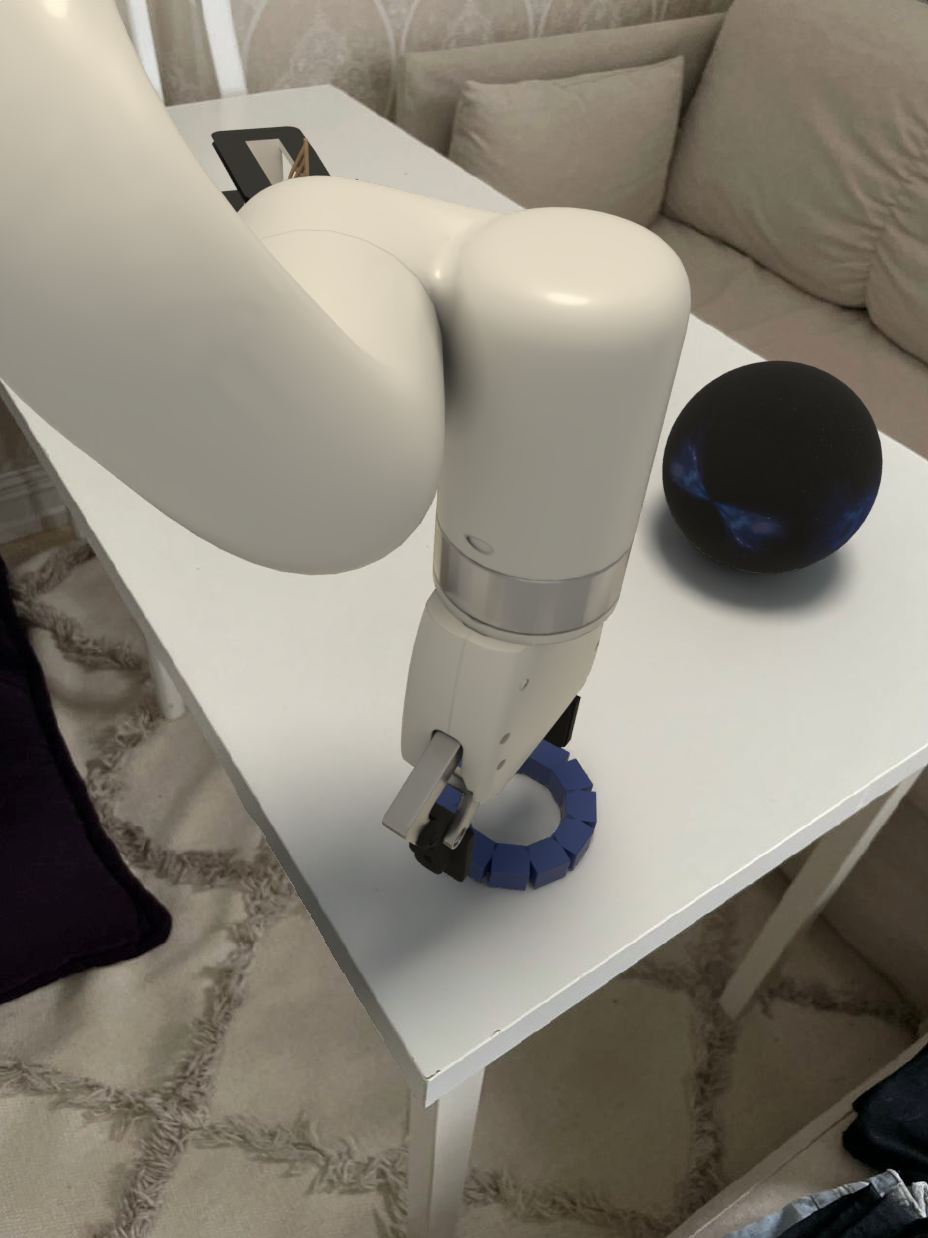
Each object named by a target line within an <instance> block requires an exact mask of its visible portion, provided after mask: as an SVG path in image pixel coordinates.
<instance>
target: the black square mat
mask: <svg viewBox="0 0 928 1238" xmlns="http://www.w3.org/2000/svg"><path fill="white" fill-rule="evenodd" d="M210 137H211V138H212V140H213V141H212V142H211V146H212V148H213V149H214V151H215V153H216V155H217V157H218V158H219V160H220V161H221V163H222V165H223V167H224V169H225V170H226V172H227V174H228V176H229V178H230V180H231V181H232V183H233V185H234V187H235V188H236V189H232V190H231V189H230V190H220V191H221V192H222V193H223V195H224V196H225V197H226V199H227V200H228V201H229V203H230V204H231V205H232V207H233V208H234V209H235V211H236V212H237V213H238V211H239V210H240V209H241V208H242V207H243V206H244V205H245V204H246V203H247V202H248V201H249V200H250V199H251V198H252V197H253V196H255V195H256V194H257V193H259V192H260V191H262V190H264V189H265V188H267V187H269V186H272V185H274V184H277V183H279V182H282V181H285V179H284V178H285V177H284V160H283V156H284V157H285V159H286V160H287V162H288V163H289V165H290V166H291V169H290V171H289V174H288V177H287V180H288V179H292V178H299V177H308V176H331V174H330V172H329V171H328V169H327V167H326V166H325V164H324V163H323V161H322V159H321V158H320V157H319V155H318V153H317V152H316V150H315V148H314V147H313V145H312V144H311V143H310V141H309V139H308V138H307V137H306V136H305V134H304V133H303V132H302V130H301V129H300V128H298V127H296V126H290V125H283V126H270V127H257V128H241V129H240V128H239V129H228V130H217V131H213V132H212V133H211V134H210ZM355 179H356V180H359V178H355Z"/></svg>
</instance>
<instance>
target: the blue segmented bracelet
mask: <svg viewBox="0 0 928 1238" xmlns="http://www.w3.org/2000/svg"><path fill="white" fill-rule="evenodd" d="M570 757H571V752H570V751H568V750H566V749H565V748H564V747H562V748H558V747H556V746H554V745H553V744H551V743H549V742H547V741H546V740H544V739H542V741H541V742H540V743H539V744H538V746H537V747H536V748H535V749H534V751H533V752H532V753H531V754H530V756H529V757H528V758H527V760H526V761H525V762H524V763H523V765H522V766H521V767H520V768H519V770H518V771H517V772H516V773H520V774H525V775H527V776H529V777H531V778H533V779H534V780H536V781H537V782H539V783H541V784H542V785H545V786H546V787H547V788H548V789H549V791H550V792H551V794H552V796H553V797H554V798H555V800H556V802H557V803H558V805H559V807H560V823H559V824H558V826H557V827H556V829H555V830H554V831H553V833H552V834H551V835H550V836H547V837H545V838H543V839H540V840H538V841H535V842H532V843H530V844H528V845H521V844H512V843H503V842H497V841H495V840H494V839H492V838H491V837H489V836H487V835H486V834H484V833H482V832H481V831H480V830H478V829H476V828H474V826H473V825H472V822H471V823H470V825H469V827H470V828H471V829H472V830H473V831H474V833H475V834H474V842H473V849H472V856H471V864H470V871H469V874H468V876H467V877H469V878H471V879H472V880H474V881H475V882H477V883H478V884H482V883H483V881H484V880H485V879H486V877H487V876H488V880H487V881H488V882H487V883H488V884H487V887H489V888H497V889H506V890H516V891H526V890H527V887H528V883H530V885H531V888H532V889H533V890H535V889H538V888H541V887H543V886H546V885H548V884H550V883H552V882H555V881H558V880H559V879H562V878H564V877H566V876H567V873H568V871H574V869H575V867H577V864H578V863H579V862H580V860H581V859H582V857H583V856H584V854H585V853H586V852H587V850H588V849H589V847H590V844H591V842H592V839H593V836H594V832H595V830H596V826H597V823H598V814H597V812H598V811H597V809H598V808H597V791H595V790H594V791H593V787H594V783H593V782H592V780H591V779H590V777H589V776H588V774H587V773H586V771H585V770H584V769H583V767H582V765H581V763H580V762H579V760H578V759H577V758H572V759H570ZM569 759H570V760H569ZM461 763H462V760H461V761H460V763H459V765H458V767H460V768H461ZM463 795H464V794H462V793H461V792H459V791H457V790H456V789H454V788H453V787H451V786H449V785H448V784H446V786H445V787H444V789H443V791H442V792H441V794H440V796H439V797H438V799H437V800H436V803H438V804H440V805H441V806H443V807H444V808H446V809H448V810H449V811H451V812H452V813H454V814H455V812H456V810H457V808H458V806H459V803H460V801H461V799H462V797H463Z"/></svg>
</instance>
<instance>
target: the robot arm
mask: <svg viewBox="0 0 928 1238" xmlns="http://www.w3.org/2000/svg"><path fill="white" fill-rule="evenodd" d="M120 13H121V12H120V9H119V8H118V5H117V2H116V0H0V379H1V381H3V383H5V384H6V386H7V387H8V388H9V389H10V390H11V391H12V392H13V393H14V394H15V395H16V396H17V398H19V399H20V400H21V401H22V402H23V403H24V404H26V405H27V407H29V408H30V409H31V410H32V411H33V412H34V413H35V414H36V415H37V416H39V417H40V418H41V419H42V420H43V421H44V422H45V423H46V424H47V425H49V427H51V428H52V429H53V430H55V431H56V432H57V433H58V434H60V436H62V437H63V438H65V439H66V440H67V441H68V442H70V444H72V445H73V446H75V447H76V448H77V449H79V450H80V451H82V452H83V453H84V454H86V455H87V456H88V457H90V458H91V460H93V461H95V462H96V463H97V464H98V465H100V466H101V467H102V468H104V469H105V470H106V471H107V472H109V473H110V474H111V475H113V477H115V478H116V479H118V480H119V481H120V482H121V483H123V484H124V485H125V486H126V487H128V488H129V489H130V490H132V491H133V492H134V493H136V494H137V495H138V496H139V497H141V498H142V499H143V500H144V501H145V502H148V504H150V505H151V506H153V507H154V508H155V509H156V510H158V511H159V512H161V513H162V514H163V515H165V516H166V517H167V518H169V519H170V520H172V522H174V523H177V524H178V525H179V526H181V527H183V528H184V529H186V530H187V531H189V532H190V533H192V534H193V535H195V536H196V537H198V538H200V539H202V540H204V541H205V542H208V543H209V544H211V545H213V546H214V547H216V548H218V549H219V550H221V551H223V552H225V553H228V554H230V555H233V556H234V557H237V558H239V559H241V560H243V561H246V562H248V563H251V564H254V565H255V566H256V565H257V566H260V567H264V568H267V569H270V570H274V571H277V572H281V573H288V574H297V575H304V576H305V575H306V576H328V575H329V576H330V575H338V574H342V573H346V572H347V573H348V572H352V571H356V570H359V569H362V568H365V567H367V566H369V565H371V564H374V563H376V562H378V561H380V560H382V559H384V558H386V557H387V556H389V555H390V554H392V553H393V552H394V551H395V550H397V549H398V548H399V547H401V546H402V545H403V544H404V543H405V542H406V541H407V540H408V539H409V537H411V535H412V534H413V533H414V532H415V531H416V529H418V528H419V526H420V525H421V524H422V523H423V521H424V519H425V517H426V516H427V513H428V512H429V510H430V508H431V507H432V505H433V502H434V500H435V498H436V504H435V505H436V506H435V519H434V534H433V535H434V536H433V554H432V555H433V557H432V581H433V585H434V590H433V591H431V592H432V593H431V594H430V596H429V597H428V598H427V600H426V602H425V605H424V608H423V612H422V614H421V617H420V620H419V624H418V628H417V630H416V631H417V632H416V635H415V639H414V642H413V645H412V650H411V655H410V656H411V657H410V661H409V664H408V672H407V680H406V686H405V692H404V701H403V709H402V718H401V728H400V729H401V730H400V753H401V757H402V760H404V761H405V762H406V763H408V764H409V765H410V766H412V767H413V768H412V770H411V771H410V773H409V775H408V776H407V778H406V780H405V782H403V785H401V788H400V789H399V791H398V793H397V794H396V795H395V797H394V799H393V800H392V802H391V804H390V805H389V807H388V808H387V810H386V812H385V813H384V815H383V818H382V821H381V824H382V826H383V827H385V828H386V829H388V830H390V831H391V832H393V833H394V834H396V835H397V836H399V837H400V838H401V839H403V840H405V841H406V842H408V848H409V849H410V851H411V852H412V853H413V856H414V858H415V860H416V861H417V863H419V864H420V865H421V866H422V867H423V868H424V869H426V870H428V871H430V872H431V873H432V874H434V875H441V874H443V873H444V874H445V875H447V876H449V877H450V878H451V879H453V880H455V881H456V882H458V883H463V882H464V881H466V878H467V877H469V876H468V874H469V871H470V864H471V856H472V849H473V842H474V834H475V833H474V831H473V830H472V829H471V828H470V827H469V825H470V823H471V824H472V821H473V819H474V817H475V814H476V812H477V810H478V809H479V806H480V804H481V803H485V802H489V801H492V800H493V799H494V798H495V797H497V795H498V794H500V792H502V790H503V789H504V788H505V787H506V786H507V784H509V782H510V781H511V779H512V778H513V777H514V776H515V775H516V773H518V772H517V771H518V770H519V768H520V767H521V766H522V765H523V763H524V762H525V761H526V760H527V758H528V757H529V756H530V754H531V753H532V752H533V751H534V749H535V748H536V747H537V746H538V744H539V743H540V742H541V741H542V739H544V740H546V741H547V742H549V743H551V744H553V745H554V746H556V747H558V748H566V747H567V745H568V744H569V743H570V742H571V740H572V737H573V732H574V728H575V724H576V721H577V720H576V719H577V715H578V711H579V707H580V703H581V700H582V699H581V698H582V696H580V695H578V694H579V692H580V691H582V689H583V687H584V685H586V682H587V680H588V677H589V676H590V673H591V670H592V667H593V665H594V663H595V659H596V656H597V652H598V650H599V645H600V641H601V637H602V632H603V628H604V624H605V622H606V621H607V620H608V619H609V617H610V616H611V615H612V614H613V613H614V612H615V609H616V607H617V605H618V603H619V600H620V597H621V592H622V588H623V583H624V580H625V576H626V572H627V568H628V563H629V560H630V557H631V552H632V548H633V544H634V541H635V540H634V539H635V536H636V534H637V530H638V525H639V522H640V517H641V514H642V510H643V506H644V502H645V499H646V494H647V489H648V487H649V482H650V479H651V474H652V470H653V467H654V462H655V460H656V456H657V450H658V447H659V442H660V439H661V435H662V432H663V427H664V423H665V420H666V419H665V418H666V415H667V412H668V407H669V403H670V399H671V396H672V393H673V392H672V390H673V388H674V383H675V379H676V376H677V373H678V367H679V364H680V359H681V357H682V356H681V355H682V353H683V348H684V343H685V340H686V337H687V331H688V326H689V321H690V316H691V310H692V293H691V292H692V290H691V283H690V279H689V276H688V273H687V271H686V267H685V266H684V263H683V262H682V260H681V258H680V257H679V255H678V253H676V251H675V250H674V249H673V248H672V247H671V246H670V245H669V244H668V243H667V242H666V241H665V240H663V239H662V238H661V237H660V236H659V235H658V234H656V233H655V232H653V231H651V230H650V229H648V228H647V227H645V226H644V225H641V224H638V223H636V222H635V221H632V220H630V219H627V218H624V217H620V216H619V215H615V214H610V213H607V212H604V211H599V210H593V209H589V208H588V209H587V208H581V207H567V206H546V207H545V206H544V207H532V208H527V209H521V210H516V211H512V212H500V211H495V210H489V209H484V208H479V207H473V206H470V205H465V204H460V203H456V202H452V201H447V200H443V199H439V198H435V197H430V196H426V195H422V194H418V193H415V192H411V191H406V190H403V189H399V188H397V187H396V188H395V187H391V186H389V185H384V184H379V183H375V182H371V181H367V180H360V179H358V180H356V179H357V178H351V177H350V178H349V177H343V176H332V175H330V176H308V177H298V178H294V177H292V179H288V178H287V179H284V181H282V182H279V183H277V184H274V185H272V186H269V187H267V188H265V189H264V190H262V191H260V192H259V193H257V194H256V195H255V196H253V197H252V198H251V199H250V200H249V201H248V202H247V203H246V204H245V205H244V206H243V207H242V208H241V209H240V210H239V211H238V213H237V212H236V211H235V209H234V208H233V207H232V205H231V204H230V203H229V201H228V200H227V199H226V197H225V196H224V195H223V193H222V192H221V191H222V190H221V189H220V188H219V187H218V186H217V184H216V182H215V181H214V180H213V178H212V177H211V176H210V175H209V173H208V172H207V170H206V169H205V168H204V166H203V165H202V163H201V162H200V160H199V158H198V157H197V155H196V153H195V152H194V151H193V149H192V148H191V146H190V145H189V143H188V141H187V140H186V139H185V137H184V136H183V134H182V133H181V131H180V129H179V128H178V126H177V125H176V124H175V121H174V120H173V118H172V116H171V113H169V110H168V109H167V107H166V105H165V103H164V102H163V100H162V99H161V96H160V94H159V93H158V91H157V90H156V88H155V86H154V84H153V83H152V81H151V79H150V78H149V75H148V74H147V71H146V68H145V67H144V65H143V62H142V60H141V58H140V56H139V54H138V52H137V50H136V48H135V45H134V43H133V41H132V40H131V37H130V36H129V35H130V34H129V33H128V30H127V28H126V26H125V22H124V20H123V18H122V15H121V14H120ZM461 760H462V763H461V768H460V767H458V765H459V763H460V761H461ZM446 784H448V785H449V786H451V787H453V788H454V789H456V790H457V791H459V792H461V793H462V794H463V795H462V796H461V801H460V803H459V806H458V808H457V810H456V812H455V814H454V813H452V812H451V811H449V810H448V809H446V808H444V807H443V806H441V805H440V804H438V803H436V800H437V799H438V797H439V796H440V794H441V792H442V791H443V789H444V787H445V786H446Z"/></svg>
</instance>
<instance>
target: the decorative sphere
mask: <svg viewBox="0 0 928 1238" xmlns="http://www.w3.org/2000/svg"><path fill="white" fill-rule="evenodd" d="M880 438H881V437H880V434H879V430H878V427H877V425H876V423H875V421H874V418H873V416H872V414H871V413H870V411H869V409H868V407H867V406H866V405H865V403H864V401H863V400H862V399H861V398H860V396H858V394H857V393H855V391H854V390H853V389H852V388H851V387H850V386H848V385H847V384H846V383H845V382H843V381H842V380H841V379H839V378H838V377H836V376H834V375H833V374H831V373H829V372H827V371H826V370H823V369H821V368H818V367H816V366H813V365H809V364H806V363H803V362H798V361H790V360H764V361H757V362H752V363H748V364H744V365H741V366H738V367H736V368H733V369H731V370H728V371H726V372H724V373H722V374H721V375H719V376H717V377H716V378H714V379H713V380H710V382H708V383H707V384H705V385H704V386H703V387H702V388H701V389H700V390H698V391H697V392H696V393H695V394H694V395H693V396H692V397H691V398H690V399H689V400H688V401H687V403H686V404H685V405H684V407H683V408H682V410H680V412H679V414H678V415H677V417H676V419H675V421H674V422H673V424H672V427H671V429H670V431H669V434H668V436H667V439H666V442H665V446H664V450H663V455H662V456H663V457H662V463H661V472H662V473H661V480H662V489H663V493H664V498H665V502H666V504H667V507H668V510H669V512H670V514H671V517H672V519H673V521H674V522H675V524H676V526H677V527H678V529H679V530H680V532H681V533H682V534H683V535H684V537H685V538H686V539H687V540H688V541H689V542H690V543H691V544H692V545H693V546H694V548H696V549H697V550H699V551H700V552H701V553H703V554H704V555H705V556H707V557H708V558H710V559H712V560H713V561H715V562H717V563H719V564H721V565H724V566H726V567H728V568H731V569H734V570H738V571H743V572H746V573H753V574H782V573H787V572H793V571H797V570H801V569H803V568H808V567H809V566H812V565H815V564H817V563H819V562H821V561H823V560H825V559H827V558H828V557H830V556H831V555H833V554H834V553H835V552H837V551H838V550H839V549H841V548H842V547H843V546H844V545H846V544H847V543H848V542H849V541H850V540H851V538H853V536H854V535H855V534H856V533H857V532H858V531H859V530H860V528H861V527H862V526H863V524H864V523H865V521H866V520H867V518H868V516H869V515H870V513H871V511H872V509H873V507H874V505H875V502H876V500H877V497H878V494H879V490H880V487H881V484H882V483H881V482H882V476H883V462H884V460H883V448H882V442H881V441H882V440H881V439H880Z"/></svg>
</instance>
